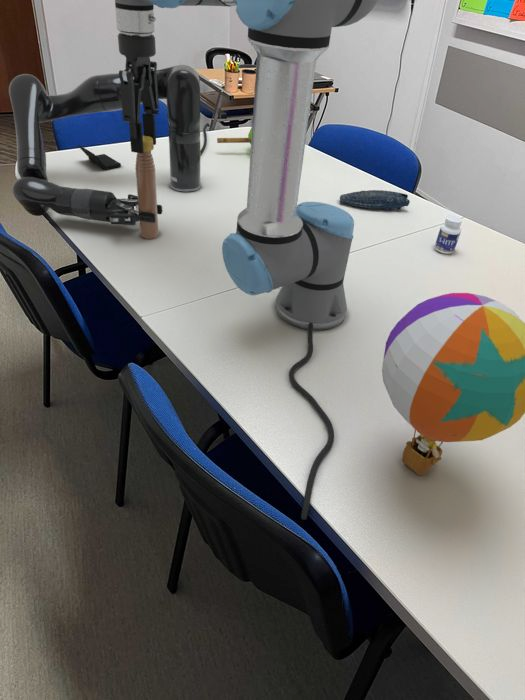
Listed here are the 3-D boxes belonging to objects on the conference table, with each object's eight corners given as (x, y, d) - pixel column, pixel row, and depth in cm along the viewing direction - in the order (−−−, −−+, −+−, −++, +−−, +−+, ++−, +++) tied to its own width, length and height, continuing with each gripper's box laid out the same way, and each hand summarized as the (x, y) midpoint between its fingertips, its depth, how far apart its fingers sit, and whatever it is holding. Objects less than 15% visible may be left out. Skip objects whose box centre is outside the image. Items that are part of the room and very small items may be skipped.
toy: (329, 455, 81) (367, 293, 62) (405, 402, 92) (457, 251, 73) (434, 545, 70) (518, 382, 52) (506, 474, 81) (598, 317, 62)
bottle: (155, 229, 137) (149, 137, 123) (161, 237, 134) (156, 143, 119) (138, 232, 135) (130, 139, 121) (144, 240, 132) (136, 145, 118)
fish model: (408, 214, 157) (412, 198, 153) (339, 207, 158) (341, 191, 154) (406, 206, 162) (410, 190, 159) (339, 199, 163) (341, 183, 160)
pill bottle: (433, 251, 139) (442, 220, 133) (435, 243, 143) (444, 213, 137) (453, 256, 138) (464, 225, 132) (454, 247, 142) (465, 217, 136)
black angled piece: (125, 159, 170) (105, 137, 162) (114, 177, 169) (93, 156, 161) (104, 155, 177) (83, 134, 168) (93, 172, 175) (71, 152, 167)
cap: (152, 152, 120) (152, 142, 118) (133, 151, 119) (132, 141, 118) (154, 146, 123) (153, 136, 122) (135, 145, 123) (134, 135, 121)
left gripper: (106, 207, 140) (167, 216, 139) (84, 230, 129) (150, 240, 127) (103, 180, 135) (166, 189, 134) (79, 201, 124) (148, 211, 123)
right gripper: (132, 41, 99) (140, 163, 113) (171, 29, 113) (174, 138, 128) (96, 36, 100) (109, 157, 114) (139, 25, 114) (146, 134, 129)
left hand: (158, 214), depth 131 cm, fingers closed on bottle, 4 cm apart
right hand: (143, 147), depth 121 cm, fingers open, 6 cm apart
